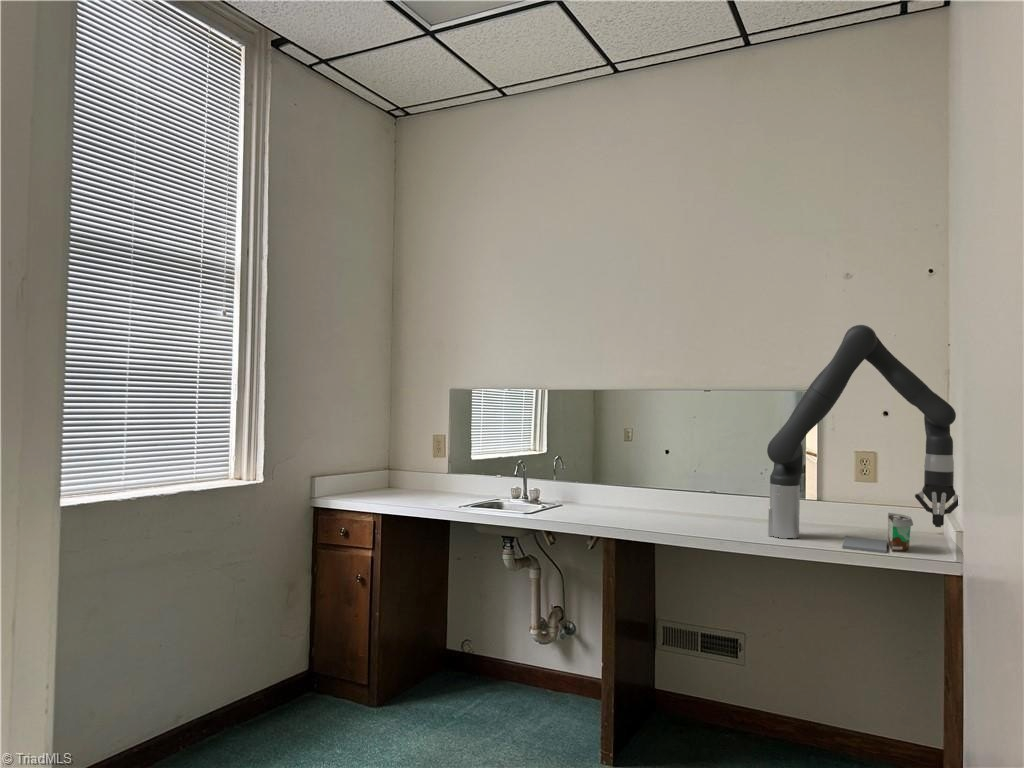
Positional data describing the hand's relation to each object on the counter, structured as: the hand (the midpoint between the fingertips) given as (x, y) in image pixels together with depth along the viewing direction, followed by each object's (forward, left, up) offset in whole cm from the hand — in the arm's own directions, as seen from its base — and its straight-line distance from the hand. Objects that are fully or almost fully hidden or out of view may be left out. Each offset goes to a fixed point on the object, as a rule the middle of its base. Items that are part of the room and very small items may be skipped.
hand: (938, 526), depth 213 cm
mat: (-20, 0, -8) cm, 21 cm away
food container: (-10, 0, -8) cm, 13 cm away
